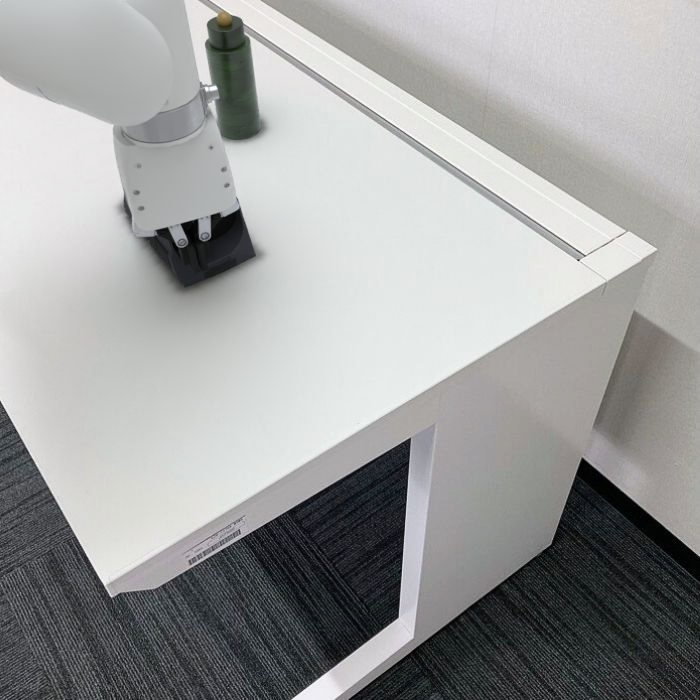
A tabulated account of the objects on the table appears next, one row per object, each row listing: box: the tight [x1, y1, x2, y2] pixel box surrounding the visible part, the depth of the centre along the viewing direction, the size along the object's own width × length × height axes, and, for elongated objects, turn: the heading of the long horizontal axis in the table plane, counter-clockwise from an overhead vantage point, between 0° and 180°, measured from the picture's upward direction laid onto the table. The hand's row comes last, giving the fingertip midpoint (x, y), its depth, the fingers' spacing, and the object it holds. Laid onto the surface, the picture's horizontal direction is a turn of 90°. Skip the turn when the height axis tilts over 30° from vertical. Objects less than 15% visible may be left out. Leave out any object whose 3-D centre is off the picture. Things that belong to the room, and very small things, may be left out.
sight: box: [123, 194, 256, 288], centre depth 85 cm, size 9×18×10 cm, turn 34°
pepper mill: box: [204, 11, 262, 140], centre depth 97 cm, size 6×6×16 cm
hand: (198, 264), depth 81 cm, fingers closed
